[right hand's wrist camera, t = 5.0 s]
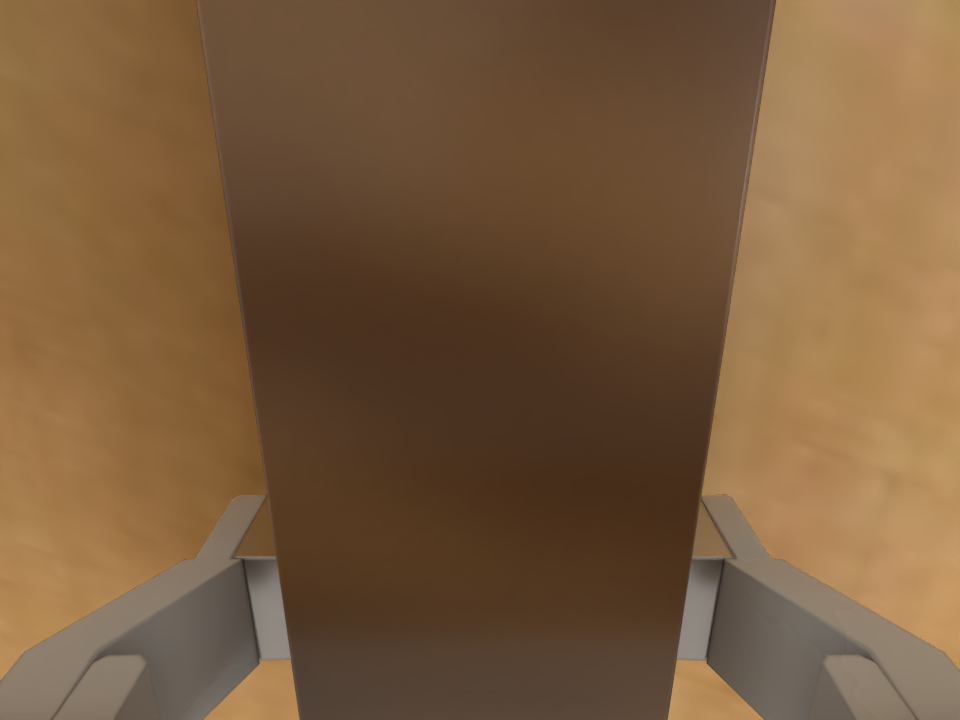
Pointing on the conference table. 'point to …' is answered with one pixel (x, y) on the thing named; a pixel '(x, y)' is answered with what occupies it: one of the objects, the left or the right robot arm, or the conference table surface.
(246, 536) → the right robot arm
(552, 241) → the beam
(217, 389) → the conference table surface
